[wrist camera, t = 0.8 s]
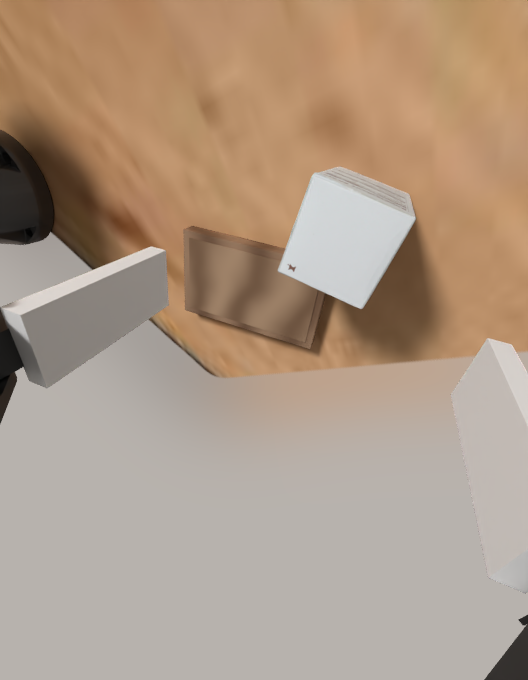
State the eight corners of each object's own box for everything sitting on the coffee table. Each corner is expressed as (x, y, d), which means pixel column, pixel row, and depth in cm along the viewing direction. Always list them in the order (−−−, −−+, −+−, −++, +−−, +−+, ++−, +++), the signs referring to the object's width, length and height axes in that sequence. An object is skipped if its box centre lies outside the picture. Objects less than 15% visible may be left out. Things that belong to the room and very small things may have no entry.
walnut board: (192, 304, 45) (184, 310, 43) (192, 225, 38) (183, 229, 37) (313, 341, 41) (309, 349, 39) (334, 260, 35) (331, 266, 33)
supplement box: (372, 263, 33) (360, 314, 23) (309, 235, 34) (273, 272, 24) (412, 193, 29) (420, 218, 19) (340, 162, 30) (310, 170, 20)
